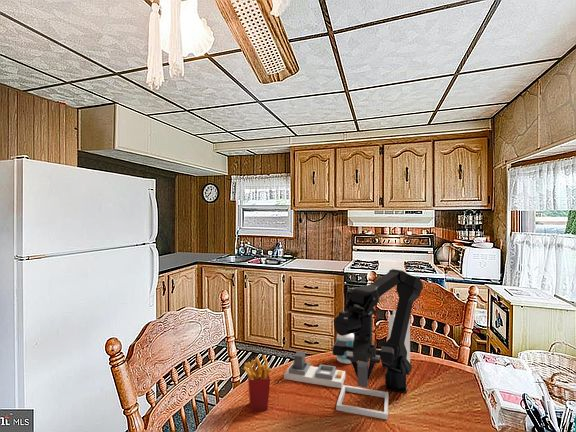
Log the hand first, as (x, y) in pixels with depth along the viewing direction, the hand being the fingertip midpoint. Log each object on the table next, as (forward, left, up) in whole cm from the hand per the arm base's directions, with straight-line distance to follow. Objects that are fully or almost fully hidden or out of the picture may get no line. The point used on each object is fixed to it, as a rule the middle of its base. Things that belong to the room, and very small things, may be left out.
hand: (363, 378), depth 104 cm
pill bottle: (+10, -30, -8) cm, 33 cm away
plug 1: (+24, -12, -6) cm, 28 cm away
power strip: (+18, -12, -8) cm, 23 cm away
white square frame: (0, 0, -8) cm, 8 cm away
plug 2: (0, 0, -2) cm, 2 cm away
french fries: (+32, +12, -8) cm, 35 cm away
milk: (-11, -33, -8) cm, 36 cm away
